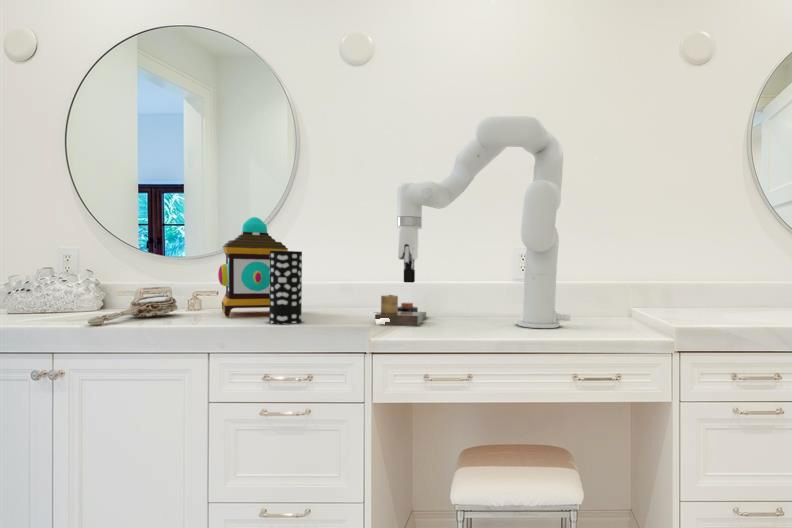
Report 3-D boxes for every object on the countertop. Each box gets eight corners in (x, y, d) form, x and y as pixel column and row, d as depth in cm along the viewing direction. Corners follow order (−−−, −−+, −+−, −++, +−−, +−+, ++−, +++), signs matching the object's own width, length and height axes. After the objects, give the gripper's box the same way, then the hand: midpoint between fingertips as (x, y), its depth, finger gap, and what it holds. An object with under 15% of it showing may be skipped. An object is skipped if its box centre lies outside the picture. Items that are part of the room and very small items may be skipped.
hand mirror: (65, 315, 135) (150, 294, 165) (72, 337, 136) (155, 313, 166) (105, 307, 134) (183, 288, 164) (112, 330, 135) (188, 307, 165)
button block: (426, 317, 178) (426, 306, 178) (422, 320, 169) (422, 309, 169) (392, 316, 178) (392, 305, 177) (386, 319, 169) (386, 308, 168)
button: (413, 308, 175) (413, 302, 175) (411, 309, 171) (411, 303, 171) (402, 307, 175) (402, 302, 175) (400, 308, 171) (400, 303, 171)
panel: (422, 322, 165) (422, 311, 165) (417, 326, 155) (417, 315, 155) (377, 320, 165) (377, 310, 165) (369, 324, 155) (369, 313, 155)
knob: (378, 312, 161) (379, 294, 160) (394, 311, 163) (395, 293, 163) (383, 313, 157) (384, 295, 156) (399, 313, 159) (400, 295, 159)
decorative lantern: (219, 318, 157) (219, 213, 155) (216, 311, 174) (216, 216, 172) (294, 316, 167) (294, 217, 165) (284, 309, 184) (284, 220, 182)
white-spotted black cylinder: (290, 319, 160) (290, 251, 159) (307, 322, 155) (308, 251, 154) (263, 322, 153) (263, 250, 152) (280, 325, 149) (280, 251, 147)
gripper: (401, 224, 178) (401, 281, 180) (392, 221, 164) (392, 283, 165) (424, 225, 179) (424, 281, 180) (418, 222, 164) (417, 283, 165)
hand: (409, 282), depth 172 cm, fingers closed
